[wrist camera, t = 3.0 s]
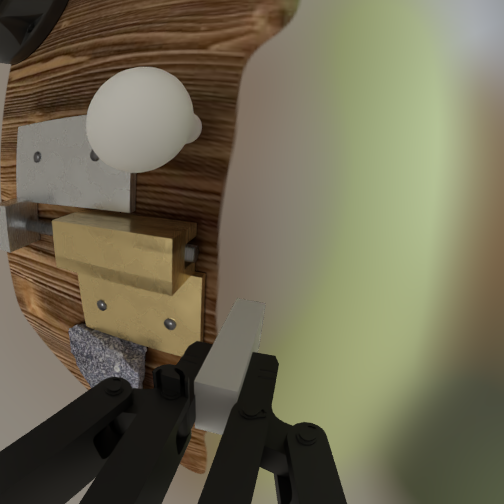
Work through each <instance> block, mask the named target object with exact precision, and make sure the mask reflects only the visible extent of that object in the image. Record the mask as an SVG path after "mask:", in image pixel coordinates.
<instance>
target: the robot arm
mask: <svg viewBox="0 0 504 504" xmlns="http://www.w3.org/2000/svg"><path fill="white" fill-rule="evenodd" d="M67 2H68V0H0V63H6V64H16V63H19V62H21V61H22V60H24V59H25V58H27V57H28V56H29V55H30V54H31V53H32V52H33V51H34V50H35V49H36V48H37V47H38V46H39V45H40V44H41V43H42V41H43V40H44V39H45V38H46V36H47V35H48V34H49V32H50V31H51V29H52V28H53V26H54V25H55V23H56V22H57V20H58V18H59V17H60V15H61V13H62V11H63V10H64V8H65V6H66V4H67ZM264 310H265V303H262V302H257V301H251V300H245V299H240V298H237V299H236V301H235V303H234V305H233V307H232V309H231V311H230V313H229V315H228V317H227V319H226V320H225V322H224V325H223V326H222V328H221V330H220V332H219V334H218V336H217V338H216V340H215V342H214V344H209V343H204V342H200V341H196V342H194V343H193V344H191V345H189V346H188V348H187V349H186V351H185V353H184V355H183V356H182V357H181V359H180V360H179V362H178V364H177V365H171V364H168V365H162V366H159V367H157V368H155V369H154V370H153V371H152V373H153V381H154V388H153V389H138V388H132V387H131V384H130V383H129V382H128V381H127V380H126V379H124V378H121V377H109V378H106V379H104V380H102V381H101V382H100V383H98V384H97V385H95V386H94V387H93V388H91V389H90V390H88V391H87V392H85V393H84V394H83V395H81V396H80V397H78V398H77V399H76V400H74V401H73V402H71V403H70V404H68V405H67V406H66V407H64V408H63V409H62V410H60V411H59V412H57V413H56V414H54V415H53V416H51V417H50V418H48V419H47V420H46V421H44V422H43V423H41V424H40V425H38V426H37V427H35V428H34V429H33V430H31V431H30V432H29V433H27V434H26V435H24V436H22V437H21V438H19V439H18V440H17V441H15V442H14V443H12V444H11V445H9V446H8V447H6V448H5V449H3V450H2V451H0V504H65V503H66V502H67V501H69V500H70V499H71V498H72V497H73V496H74V495H76V494H77V493H78V492H79V491H80V490H82V489H83V488H84V487H85V486H86V485H87V484H89V483H90V482H91V481H92V480H93V479H94V478H95V477H96V478H95V480H94V481H93V483H92V484H91V486H90V487H89V489H88V491H87V492H86V494H85V495H84V497H83V498H82V500H81V501H80V503H79V504H162V502H163V499H164V497H165V495H166V493H167V491H168V488H169V486H170V484H171V482H172V479H173V477H174V475H175V473H176V471H177V468H178V466H179V464H180V462H181V459H182V457H183V455H184V453H185V450H186V448H187V446H188V443H189V441H190V439H191V429H192V427H193V424H194V422H195V428H197V429H201V430H205V431H209V432H213V433H217V434H221V435H222V438H221V440H220V443H219V446H218V449H217V452H216V455H215V457H214V460H213V463H212V466H211V469H210V471H209V474H208V477H207V480H206V482H205V485H204V488H203V490H202V493H201V496H200V498H199V501H198V504H251V501H252V497H253V492H254V489H255V484H256V480H257V475H258V471H259V467H261V468H263V469H266V470H268V471H270V472H272V473H274V479H275V486H276V494H277V501H278V504H347V502H346V499H345V495H344V492H343V489H342V486H341V482H340V479H339V475H338V472H337V469H336V465H335V462H334V459H333V455H332V452H331V449H330V445H329V442H328V439H327V436H326V434H325V432H324V430H323V429H322V428H320V427H319V426H318V425H315V424H313V423H307V422H303V423H297V424H295V425H294V426H292V425H289V424H287V423H284V422H283V421H281V420H279V419H278V418H277V417H276V416H275V415H274V413H273V411H272V400H273V394H274V389H275V383H276V377H277V372H278V366H279V363H278V361H277V359H276V356H272V355H267V354H261V353H257V352H258V348H259V344H260V338H261V331H262V324H263V318H264Z"/></svg>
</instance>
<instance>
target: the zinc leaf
mask: <svg viewBox="0 0 504 504" xmlns="http://www.w3.org/2000/svg"><path fill="white" fill-rule="evenodd" d="M86 117H87V115H82V116H75V117H68V118H61V119H55V120H50V121H44V122H39V123H34V124H29V125H25V126H20V127H18V138H17V165H16V179H17V198H15V199H11V200H8V201H4V202H1V203H0V249H1V250H4V251H7V252H10V253H11V252H13V251H15V250H17V249H19V248H22V247H24V246H26V245H29V244H31V243H33V242H36V241H38V240H40V234H45V235H50V236H53V228H52V222H48V221H42V220H39V219H38V203H45V204H54V205H64V206H73V207H82V208H91V209H100V210H109V211H117V212H126V213H131V212H133V211H135V205H136V174H137V173H130V172H125V171H120V170H117V169H115V168H113V167H111V166H109V165H107V164H105V163H104V162H103V161H102V160H101V159H99V157H98V156H97V155H96V153H95V152H94V151H93V149H92V147H91V145H90V143H89V140H88V136H87V130H86ZM198 253H199V248H198V246H197V245H192V244H185V261H187V262H192V263H195V262H196V261H197V258H198Z"/></svg>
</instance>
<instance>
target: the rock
mask: <svg viewBox="0 0 504 504" xmlns="http://www.w3.org/2000/svg"><path fill="white" fill-rule="evenodd" d="M69 336H70V346H71V353H72V354H73V355H74V356H75V358H76V363H77V366H78V367H79V369H80V372H81V373H82V375H83V376H84V377H85V379H86V380H87V382H88V383H89V385H90V387H91V388H93V387H94V386H95V385H97V384H98V383H100V382H101V381H102V380H104V379H106V378H109V377H121V378H124V379H126V380H127V381H128V382H129V383H130V384H131V387H132V388H138V389H143V384H142V382H143V380H144V376H145V357H146V356H145V352H146V351H147V347H146V346H143V345H140V344H136V343H133V342H130V341H127V340H124V339H121V338H118V337H115V336H112V335H109V334H106V333H103V332H100V331H98V330H95V329H92V328H89V327H87V326H86V324H80V325H75V326H74V327H73V328H69Z"/></svg>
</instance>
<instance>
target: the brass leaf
mask: <svg viewBox="0 0 504 504" xmlns="http://www.w3.org/2000/svg"><path fill="white" fill-rule="evenodd" d="M52 228H53V239H54V249H55V257H56V265H57V267H59V268H62V269H66V270H69V271H73V272H76V273H78V279H79V287H80V293H81V300H82V305H83V311H84V317H85V322H86V326H87V327H89V328H92V329H95V330H98V331H100V332H103V333H106V334H109V335H112V336H115V337H118V338H121V339H124V340H127V341H130V342H133V343H136V344H140V345H143V346H146V347H150V348H153V349H156V350H160V351H163V352H167V353H171V354H174V355H178V356H183V355H184V353H185V351H186V349H187V348H188V346H189V345H191V344H193V343H194V342H196V341H200V342H203V334H204V303H205V279H206V273H201V272H195V263H192V262H187V261H185V244H186V243H188V242H189V241H190V240H192V239H193V238H194V237H196V234H197V223H194V222H186V221H179V220H171V219H164V218H156V217H148V216H140V215H132V214H124V213H116V212H107V211H99V210H90V209H84V210H81V211H78V212H75V213H72V214H69V215H66V216H63V217H60V218H57V219H54V220H52Z"/></svg>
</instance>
